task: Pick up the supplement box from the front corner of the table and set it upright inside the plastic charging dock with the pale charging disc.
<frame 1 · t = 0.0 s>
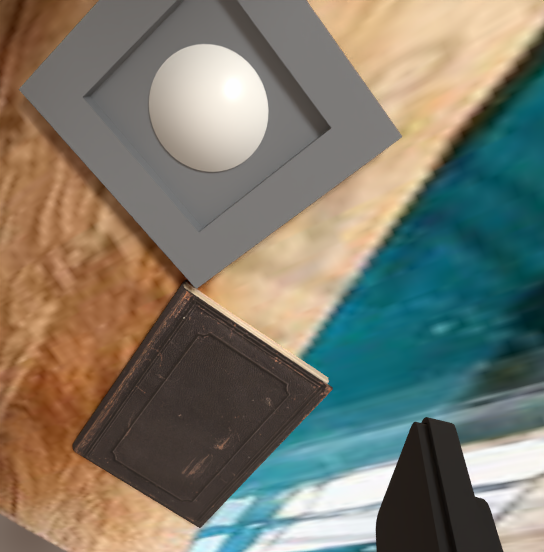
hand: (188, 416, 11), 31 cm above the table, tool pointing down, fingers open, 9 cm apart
hardcover book: (198, 405, 51), on the table
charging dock: (211, 109, 39), on the table
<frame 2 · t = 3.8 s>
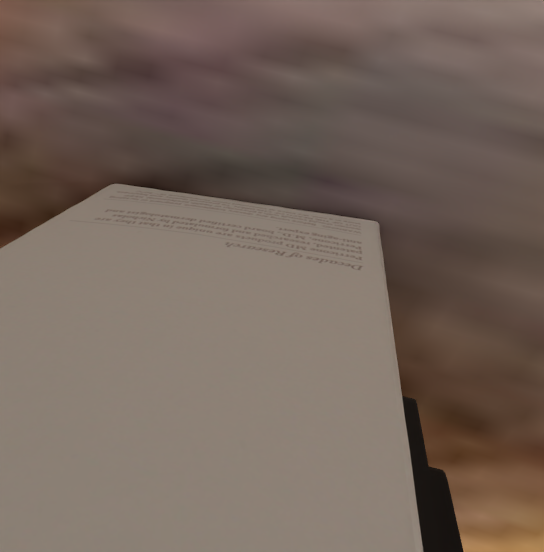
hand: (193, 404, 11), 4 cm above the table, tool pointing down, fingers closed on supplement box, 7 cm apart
supplement box: (233, 315, 15), on the table, touching gripper
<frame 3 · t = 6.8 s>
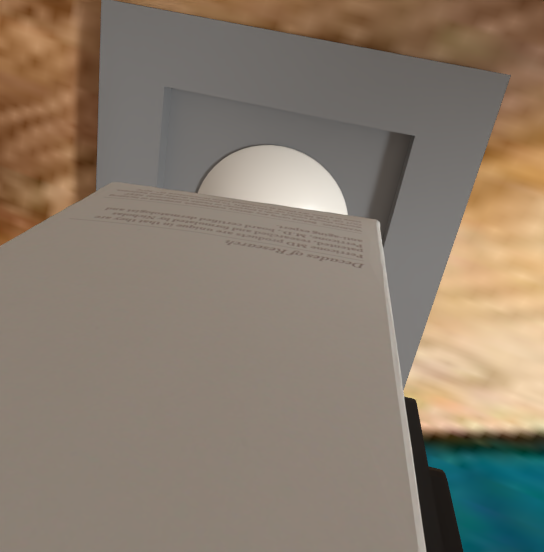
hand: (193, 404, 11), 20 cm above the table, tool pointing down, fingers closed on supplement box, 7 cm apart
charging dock: (271, 219, 31), on the table
supplement box: (233, 314, 15), point 16 cm above the table, touching gripper
when the fingers open (7 cm above the table, at t = 10.2 s): supplement box drops 2 cm, resting on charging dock.
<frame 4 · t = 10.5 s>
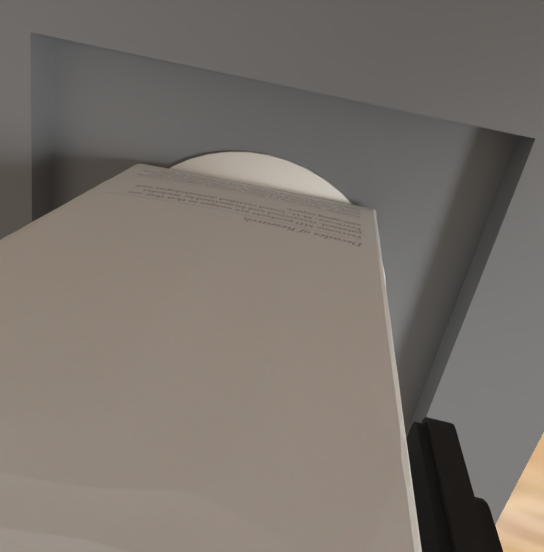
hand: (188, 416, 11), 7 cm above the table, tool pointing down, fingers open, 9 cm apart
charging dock: (248, 281, 17), on the table
supplement box: (239, 289, 17), point 1 cm above the table, touching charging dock
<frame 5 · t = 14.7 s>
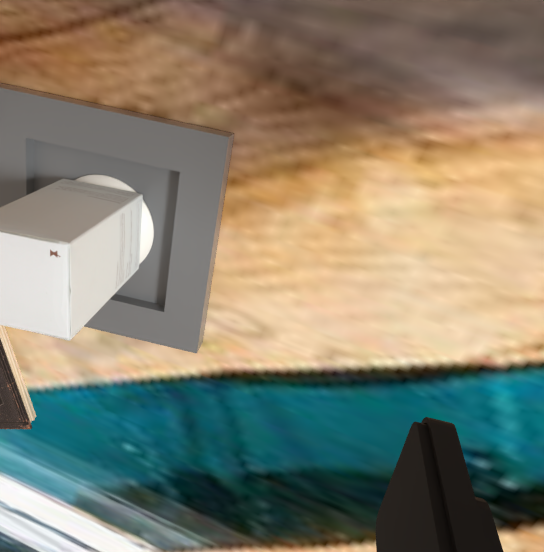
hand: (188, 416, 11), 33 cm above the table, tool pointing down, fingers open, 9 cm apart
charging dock: (108, 222, 46), on the table
supplement box: (103, 224, 46), point 1 cm above the table, touching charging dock
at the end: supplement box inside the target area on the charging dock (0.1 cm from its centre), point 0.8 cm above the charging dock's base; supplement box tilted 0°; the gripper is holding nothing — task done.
